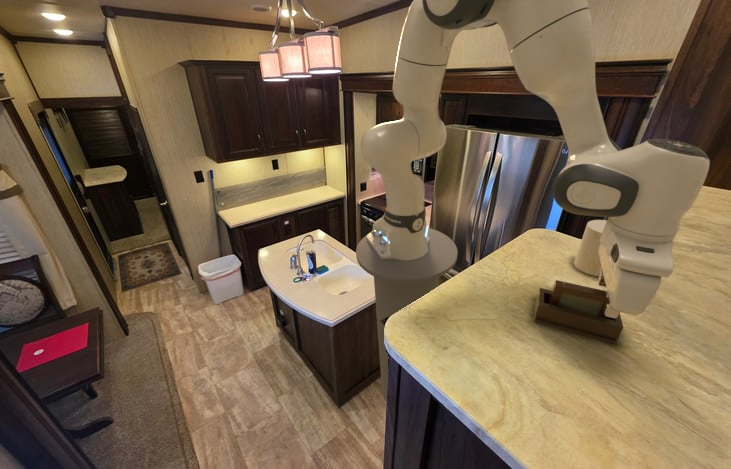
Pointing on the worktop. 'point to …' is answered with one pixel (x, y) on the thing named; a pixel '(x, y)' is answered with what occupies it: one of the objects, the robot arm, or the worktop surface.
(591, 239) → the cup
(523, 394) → the worktop surface
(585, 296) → the frame
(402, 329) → the worktop surface
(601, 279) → the robot arm
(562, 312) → the holder
